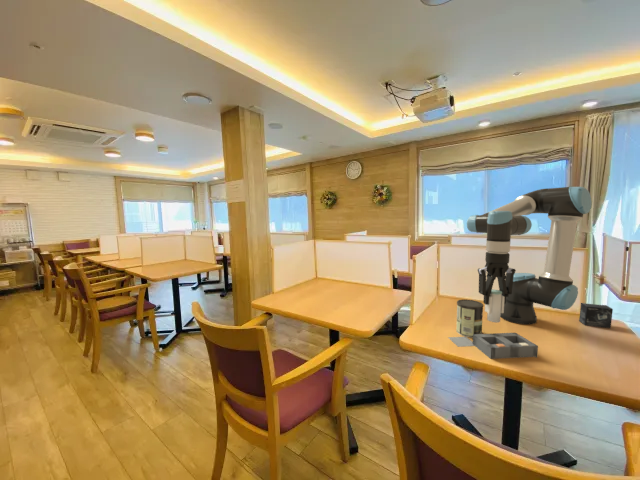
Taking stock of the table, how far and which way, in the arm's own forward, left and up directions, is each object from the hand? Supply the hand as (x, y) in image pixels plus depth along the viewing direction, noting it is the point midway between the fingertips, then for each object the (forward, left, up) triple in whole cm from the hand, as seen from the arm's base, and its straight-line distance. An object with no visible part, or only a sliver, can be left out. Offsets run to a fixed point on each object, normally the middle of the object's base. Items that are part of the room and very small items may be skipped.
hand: (494, 311), depth 104 cm
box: (-63, -19, -16) cm, 68 cm away
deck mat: (+7, -8, -16) cm, 19 cm away
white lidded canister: (0, 0, -3) cm, 3 cm away
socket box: (-5, 0, -16) cm, 17 cm away
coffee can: (0, -16, -16) cm, 23 cm away
